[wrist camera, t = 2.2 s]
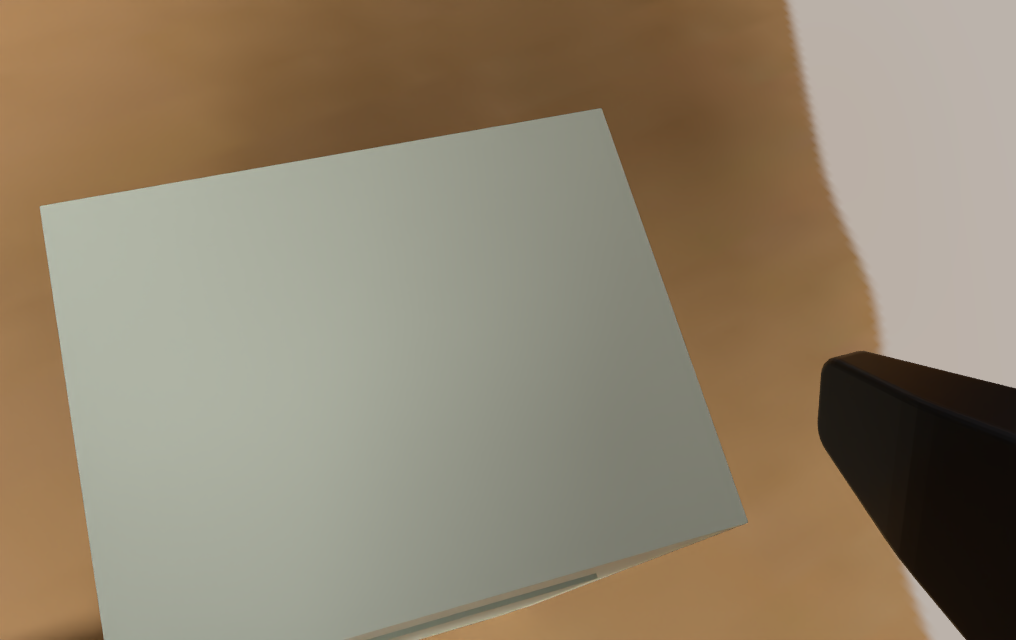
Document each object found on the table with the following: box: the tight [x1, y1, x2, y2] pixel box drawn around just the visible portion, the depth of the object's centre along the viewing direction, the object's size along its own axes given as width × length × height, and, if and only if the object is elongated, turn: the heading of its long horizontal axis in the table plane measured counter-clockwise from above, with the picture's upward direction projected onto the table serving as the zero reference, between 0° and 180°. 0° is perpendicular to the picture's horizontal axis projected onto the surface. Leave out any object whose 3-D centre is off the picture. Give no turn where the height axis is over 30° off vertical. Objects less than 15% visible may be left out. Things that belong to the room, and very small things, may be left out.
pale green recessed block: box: [40, 108, 748, 640], centre depth 13 cm, size 4×5×11 cm
